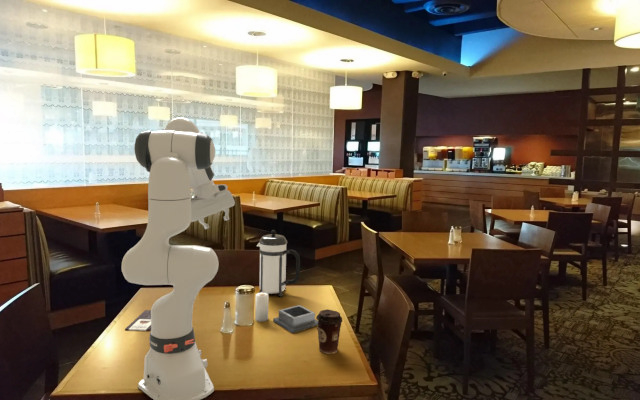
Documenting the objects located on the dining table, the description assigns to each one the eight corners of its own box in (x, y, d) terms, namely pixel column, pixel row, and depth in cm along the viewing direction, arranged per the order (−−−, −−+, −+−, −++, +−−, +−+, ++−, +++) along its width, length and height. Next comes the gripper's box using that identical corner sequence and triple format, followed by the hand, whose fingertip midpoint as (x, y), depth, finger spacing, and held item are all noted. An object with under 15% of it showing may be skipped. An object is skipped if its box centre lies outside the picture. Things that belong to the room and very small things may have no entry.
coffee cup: (318, 357, 136) (320, 318, 135) (312, 345, 144) (313, 309, 143) (344, 354, 139) (345, 316, 137) (336, 343, 147) (337, 307, 145)
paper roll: (270, 319, 165) (270, 295, 164) (259, 322, 162) (259, 297, 161) (263, 315, 169) (264, 291, 168) (253, 318, 166) (253, 293, 165)
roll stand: (320, 324, 162) (320, 313, 161) (292, 333, 154) (292, 320, 153) (300, 314, 172) (300, 303, 171) (273, 321, 164) (273, 309, 163)
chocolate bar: (167, 310, 170) (149, 329, 152) (167, 313, 170) (149, 331, 152) (145, 310, 170) (124, 328, 152) (145, 312, 170) (125, 331, 152)
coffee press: (267, 301, 185) (268, 234, 181) (250, 291, 198) (251, 228, 194) (300, 294, 195) (301, 231, 192) (282, 285, 208) (283, 225, 204)
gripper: (184, 199, 160) (197, 233, 162) (230, 183, 173) (241, 215, 175) (178, 201, 165) (191, 234, 167) (223, 185, 178) (234, 216, 179)
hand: (217, 224), depth 171 cm, fingers open, 8 cm apart
